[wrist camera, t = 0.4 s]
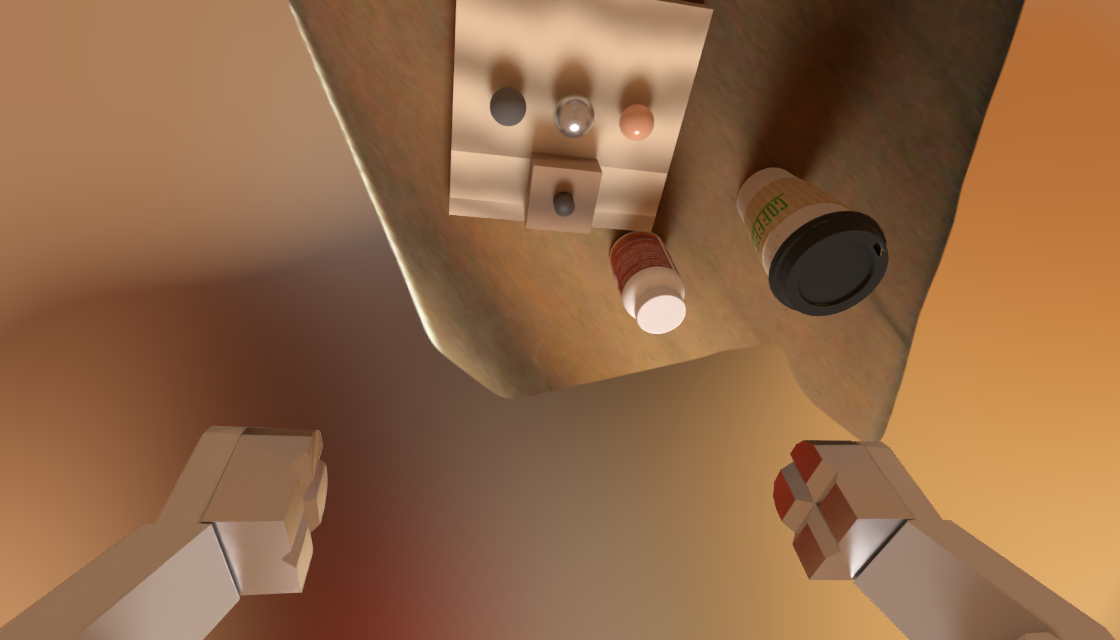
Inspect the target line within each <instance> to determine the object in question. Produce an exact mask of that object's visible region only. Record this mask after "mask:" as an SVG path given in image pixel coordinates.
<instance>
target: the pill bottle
mask: <svg viewBox="0 0 1120 640" xmlns="http://www.w3.org/2000/svg"><path fill="white" fill-rule="evenodd" d="M610 265H611V269H612V272H613V274H614V277H615V281H616V283H617V286H618V289H619V292H620V295H621V299H622V302H623V304H624V307H625V309H626V311H627V312H628V313H629V314H630V315H631V316H632V317H634V318H636V320H637V322H638V324H639V326H640V327H641V328H642V329H643V330H644V331H646V332H648V333H653V334H662V333H666V332H669V331H671V330H673V329H674V328H676V327H677V326H678V325H679V324H680V323H681V322H682V321H683V319H684V317H685V314H686V306H685V304H684V301H683V299H684V296H685V287H684V283H683V281H682V279H681V276H680V275H679V273H678V271H677V269H676V266H675V264H674V262H673V260H672V258H671V256H670V254H669V252H668V250H667V248H666V246H665V244H664V243H663V241H662V240H661V238H660V237H659V236H657V235H656V234H654V233H652V232H643V231H633V232H629V233H627V234H625V235H623V236H622V237H620V238H619V239H618V240H617V241H616V242H615V244H614V245H613V247H612V249H611V252H610Z"/></svg>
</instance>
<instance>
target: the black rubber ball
mask: <svg viewBox="0 0 1120 640" xmlns="http://www.w3.org/2000/svg"><path fill="white" fill-rule="evenodd" d="M490 112H491V115H492V117H493V118H494V120H495V121H496V122H498V123H499V124H501V125H503V126H514V125H516V124H518V123H519V122H521V120H522V119H523V118H524V116H525V113H526V102H525V99H524V97H523V95H522V94H521V93H520V92H519V91H518V90H516V89H514V88H510V87H504V88H501V89H499V90H497V91H496V92H495V93H494V94H493V96H492V98H491V100H490Z"/></svg>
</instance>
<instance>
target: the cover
mask: <svg viewBox="0 0 1120 640" xmlns="http://www.w3.org/2000/svg"><path fill="white" fill-rule="evenodd" d="M602 173H603V172H602V170H601V167H600V165H599V162H598V160H597V159H591V158H582V157H573V156H563V155H554V154H545V153H536V152H532V153H531V161H530V169H529V177H528V185H527V193H526V202H525V210H524V217H525V226H526V228H529V229H540V230H552V231H564V232H576V233H587V234H590V231H591V226H592V221H593V217H594V212H595V207H596V202H597V197H598V192H599V188H600V183H601V178H602Z"/></svg>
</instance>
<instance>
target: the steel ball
mask: <svg viewBox="0 0 1120 640" xmlns="http://www.w3.org/2000/svg"><path fill="white" fill-rule="evenodd" d="M553 120H554V124H555V126H556V128H557V130H558V131H559V132H560V133H561V134H563V135H564V136H566V137H569V138H578V137H582V136H584V135H585V134H587V133H588V132H589V131H590V129H591V128H592V126H593V124H594V121H595V111H594V107H593V105H592V103H591V102H590V101H589V99H588V98H586V97H585V96H583V95H581V94H576V93H572V94H568V95H565V96H564V97H562V98H561V99H560V100H559V101H558V102H557V104H556V106H555V108H554V112H553Z"/></svg>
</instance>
